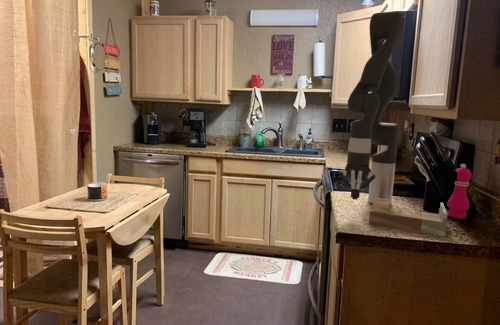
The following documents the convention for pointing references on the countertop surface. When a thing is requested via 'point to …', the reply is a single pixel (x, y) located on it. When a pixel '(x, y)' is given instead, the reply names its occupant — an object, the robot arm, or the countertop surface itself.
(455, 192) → the pepper mill
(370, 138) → the robot arm
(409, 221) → the box
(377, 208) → the maple block
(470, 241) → the countertop surface
